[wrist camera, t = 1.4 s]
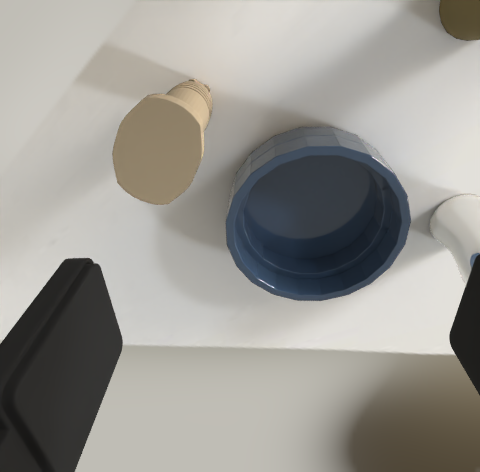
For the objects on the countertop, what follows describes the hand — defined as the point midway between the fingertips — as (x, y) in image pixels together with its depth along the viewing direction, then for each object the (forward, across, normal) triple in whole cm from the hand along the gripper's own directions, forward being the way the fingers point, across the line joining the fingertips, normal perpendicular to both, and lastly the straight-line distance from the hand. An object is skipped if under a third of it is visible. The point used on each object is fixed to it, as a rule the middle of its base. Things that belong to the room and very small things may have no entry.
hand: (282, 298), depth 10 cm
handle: (+28, +6, 0) cm, 29 cm away
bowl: (+28, -5, +11) cm, 31 cm away
